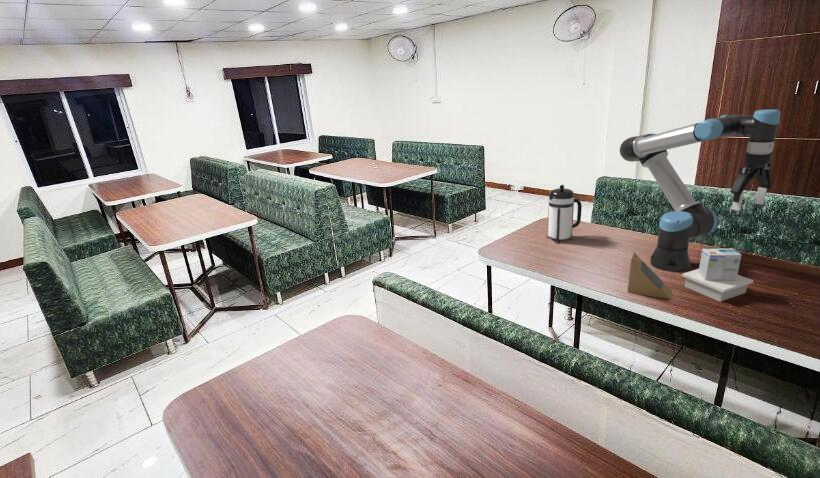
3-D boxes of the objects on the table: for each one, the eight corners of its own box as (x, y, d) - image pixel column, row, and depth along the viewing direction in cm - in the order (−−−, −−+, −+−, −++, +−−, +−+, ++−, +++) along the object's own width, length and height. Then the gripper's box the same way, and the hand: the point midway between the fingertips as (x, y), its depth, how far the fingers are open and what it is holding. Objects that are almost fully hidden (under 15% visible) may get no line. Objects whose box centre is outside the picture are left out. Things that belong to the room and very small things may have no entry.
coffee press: (572, 245, 212) (576, 189, 201) (541, 241, 220) (543, 187, 210) (580, 234, 225) (583, 181, 215) (550, 231, 234) (552, 179, 223)
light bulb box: (727, 273, 160) (733, 247, 156) (737, 280, 154) (742, 254, 150) (697, 272, 162) (701, 247, 158) (705, 280, 156) (709, 254, 152)
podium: (680, 286, 164) (682, 273, 162) (708, 277, 169) (710, 265, 167) (720, 303, 150) (723, 290, 148) (750, 293, 155) (753, 280, 153)
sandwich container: (672, 299, 156) (678, 264, 150) (627, 292, 163) (631, 258, 158) (672, 289, 163) (677, 255, 157) (628, 283, 170) (632, 250, 165)
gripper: (747, 158, 147) (735, 214, 154) (792, 149, 154) (779, 203, 162) (725, 156, 153) (715, 210, 161) (769, 147, 161) (758, 199, 168)
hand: (747, 206), depth 161 cm, fingers open, 13 cm apart
